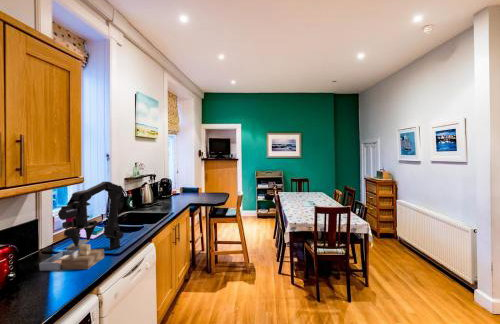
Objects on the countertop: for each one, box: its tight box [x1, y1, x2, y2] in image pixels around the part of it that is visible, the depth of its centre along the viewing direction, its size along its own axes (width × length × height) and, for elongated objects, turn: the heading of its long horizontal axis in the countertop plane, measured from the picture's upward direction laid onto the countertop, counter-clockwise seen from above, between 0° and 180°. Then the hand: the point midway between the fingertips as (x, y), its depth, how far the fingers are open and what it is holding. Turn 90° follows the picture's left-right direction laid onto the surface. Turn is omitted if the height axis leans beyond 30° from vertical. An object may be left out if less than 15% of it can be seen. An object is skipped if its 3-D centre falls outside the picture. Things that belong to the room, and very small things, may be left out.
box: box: [38, 250, 77, 272], centre depth 138 cm, size 16×10×4 cm, turn 179°
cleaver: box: [65, 238, 91, 251], centre depth 160 cm, size 29×10×2 cm, turn 9°
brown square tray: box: [61, 248, 105, 270], centre depth 137 cm, size 14×14×5 cm
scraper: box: [72, 243, 91, 259], centre depth 137 cm, size 12×5×5 cm, turn 179°
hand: (82, 243), depth 137 cm, fingers open, 9 cm apart
